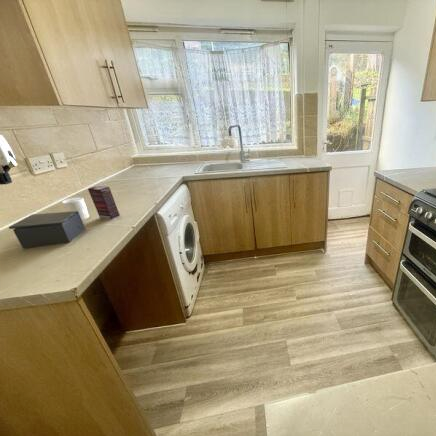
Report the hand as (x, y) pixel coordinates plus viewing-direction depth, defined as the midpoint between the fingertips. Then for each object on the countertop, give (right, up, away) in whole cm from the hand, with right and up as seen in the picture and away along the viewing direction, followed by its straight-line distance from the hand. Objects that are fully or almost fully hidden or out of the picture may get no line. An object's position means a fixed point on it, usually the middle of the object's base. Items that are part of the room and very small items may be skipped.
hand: (6, 183), depth 90 cm
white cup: (0, -13, +32) cm, 35 cm away
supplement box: (+15, -13, +32) cm, 38 cm away
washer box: (+8, -22, +12) cm, 26 cm away
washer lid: (+7, -14, +8) cm, 17 cm away
